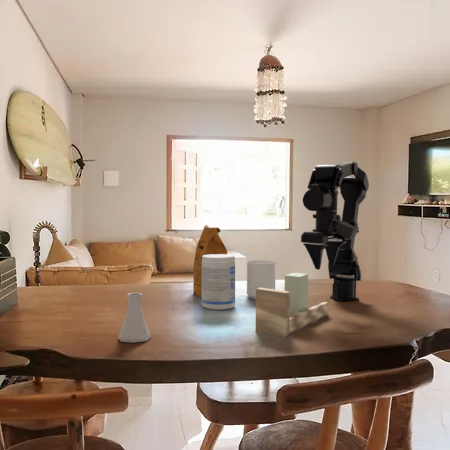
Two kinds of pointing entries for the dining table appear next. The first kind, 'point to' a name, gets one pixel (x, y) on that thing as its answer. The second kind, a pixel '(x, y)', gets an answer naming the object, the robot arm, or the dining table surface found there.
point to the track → (283, 313)
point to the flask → (134, 322)
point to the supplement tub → (218, 281)
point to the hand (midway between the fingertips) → (325, 267)
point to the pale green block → (297, 292)
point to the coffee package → (205, 246)
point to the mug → (260, 276)
